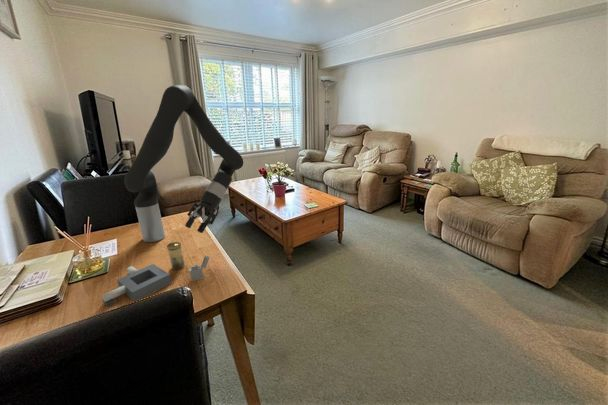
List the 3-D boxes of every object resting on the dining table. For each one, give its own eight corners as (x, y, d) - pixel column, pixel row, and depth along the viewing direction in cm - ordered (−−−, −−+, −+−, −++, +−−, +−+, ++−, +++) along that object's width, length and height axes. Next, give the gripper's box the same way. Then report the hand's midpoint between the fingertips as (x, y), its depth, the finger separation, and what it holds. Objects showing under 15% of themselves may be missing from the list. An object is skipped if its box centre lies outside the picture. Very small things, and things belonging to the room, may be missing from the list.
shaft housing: (93, 292, 90) (90, 283, 89) (148, 267, 104) (146, 259, 103) (113, 312, 80) (110, 302, 79) (171, 282, 94) (169, 274, 93)
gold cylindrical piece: (169, 267, 103) (164, 245, 100) (180, 262, 107) (176, 240, 104) (175, 271, 101) (171, 249, 98) (187, 265, 104) (183, 244, 101)
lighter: (191, 281, 94) (187, 261, 92) (191, 278, 96) (187, 259, 93) (212, 276, 97) (209, 256, 95) (211, 273, 99) (208, 254, 96)
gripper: (197, 187, 113) (176, 222, 108) (218, 192, 104) (196, 230, 99) (209, 196, 118) (190, 229, 113) (230, 201, 110) (210, 237, 105)
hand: (193, 229), depth 106 cm, fingers open, 8 cm apart
